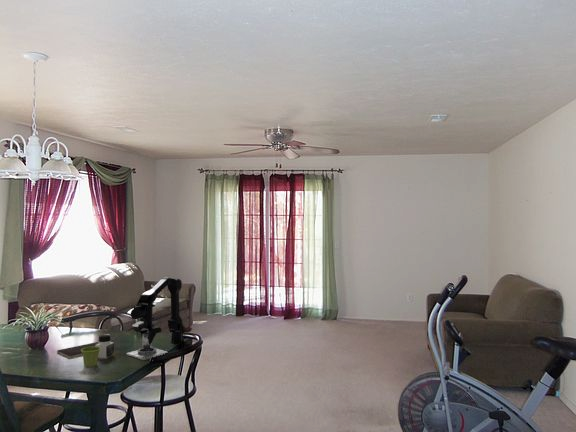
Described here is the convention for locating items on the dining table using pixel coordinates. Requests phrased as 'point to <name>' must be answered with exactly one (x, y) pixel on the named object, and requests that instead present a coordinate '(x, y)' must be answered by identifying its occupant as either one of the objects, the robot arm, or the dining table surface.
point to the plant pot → (90, 356)
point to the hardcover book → (75, 350)
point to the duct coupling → (145, 341)
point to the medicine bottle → (105, 346)
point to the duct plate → (143, 357)
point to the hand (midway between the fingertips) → (147, 343)
